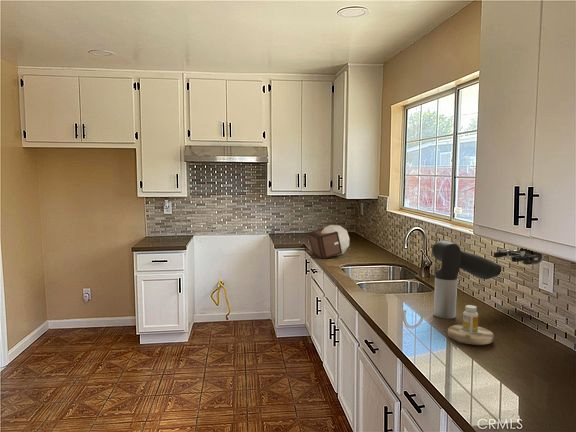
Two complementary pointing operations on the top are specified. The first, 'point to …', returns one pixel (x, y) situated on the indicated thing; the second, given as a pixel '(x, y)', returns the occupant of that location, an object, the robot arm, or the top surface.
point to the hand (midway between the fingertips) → (503, 256)
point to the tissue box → (329, 241)
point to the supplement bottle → (470, 319)
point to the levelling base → (470, 335)
